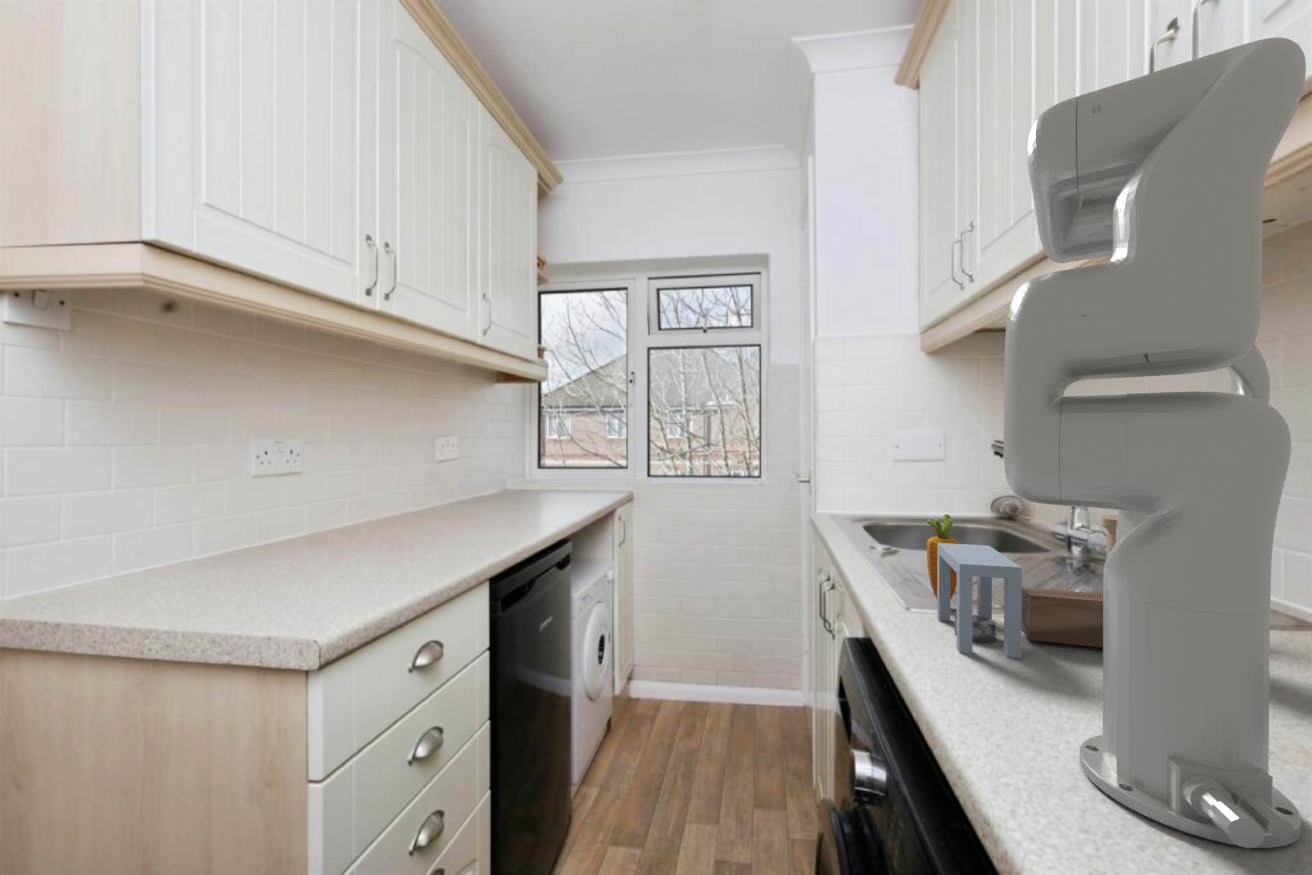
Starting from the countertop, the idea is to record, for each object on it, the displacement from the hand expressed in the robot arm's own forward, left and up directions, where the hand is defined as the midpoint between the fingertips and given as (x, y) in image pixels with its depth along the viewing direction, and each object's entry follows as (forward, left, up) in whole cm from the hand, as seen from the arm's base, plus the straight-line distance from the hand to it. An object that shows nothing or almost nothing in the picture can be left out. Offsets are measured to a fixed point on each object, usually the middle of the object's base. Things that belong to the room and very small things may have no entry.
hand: (1151, 640), depth 72 cm
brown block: (0, +5, -1) cm, 5 cm away
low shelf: (0, +20, -2) cm, 20 cm away
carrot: (+13, +22, -2) cm, 25 cm away
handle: (+17, -4, -2) cm, 18 cm away
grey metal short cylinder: (0, +20, -2) cm, 20 cm away
